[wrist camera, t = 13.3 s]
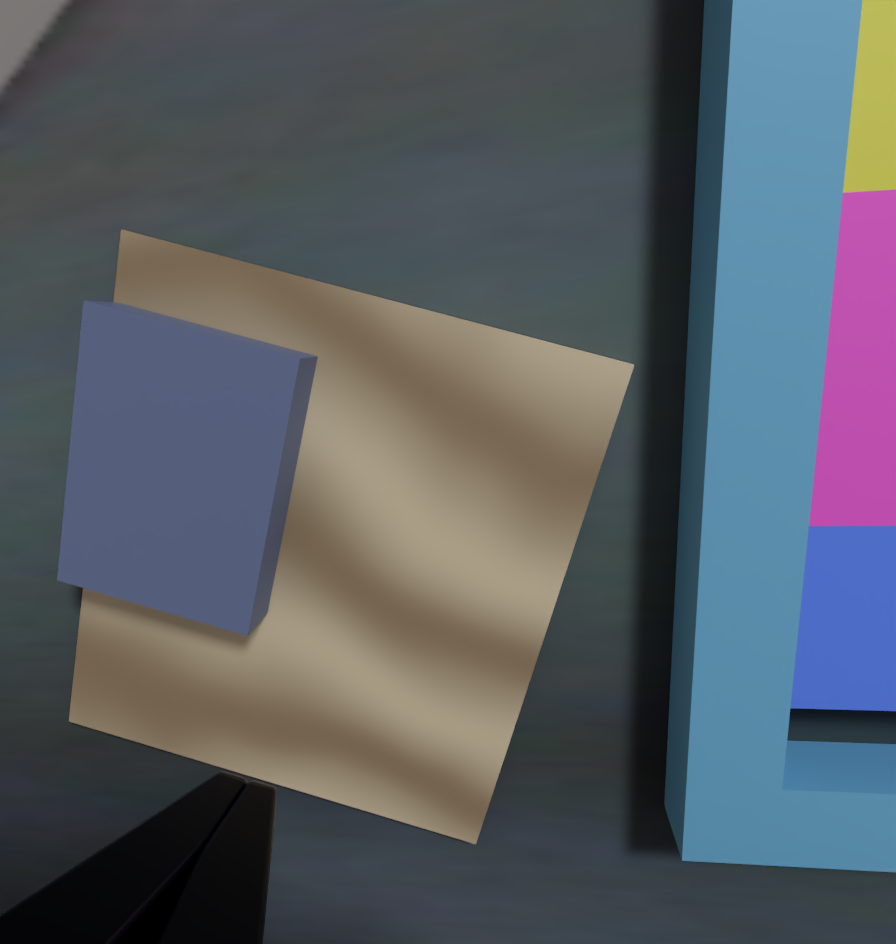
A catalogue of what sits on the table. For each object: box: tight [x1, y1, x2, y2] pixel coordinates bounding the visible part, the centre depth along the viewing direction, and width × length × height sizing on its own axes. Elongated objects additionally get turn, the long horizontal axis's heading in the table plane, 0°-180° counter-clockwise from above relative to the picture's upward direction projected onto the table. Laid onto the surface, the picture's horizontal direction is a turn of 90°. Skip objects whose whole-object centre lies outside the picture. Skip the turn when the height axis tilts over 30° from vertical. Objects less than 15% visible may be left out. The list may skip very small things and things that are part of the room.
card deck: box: [57, 300, 318, 636], centre depth 19 cm, size 9×2×6 cm
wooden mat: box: [69, 229, 634, 844], centre depth 20 cm, size 18×16×1 cm
